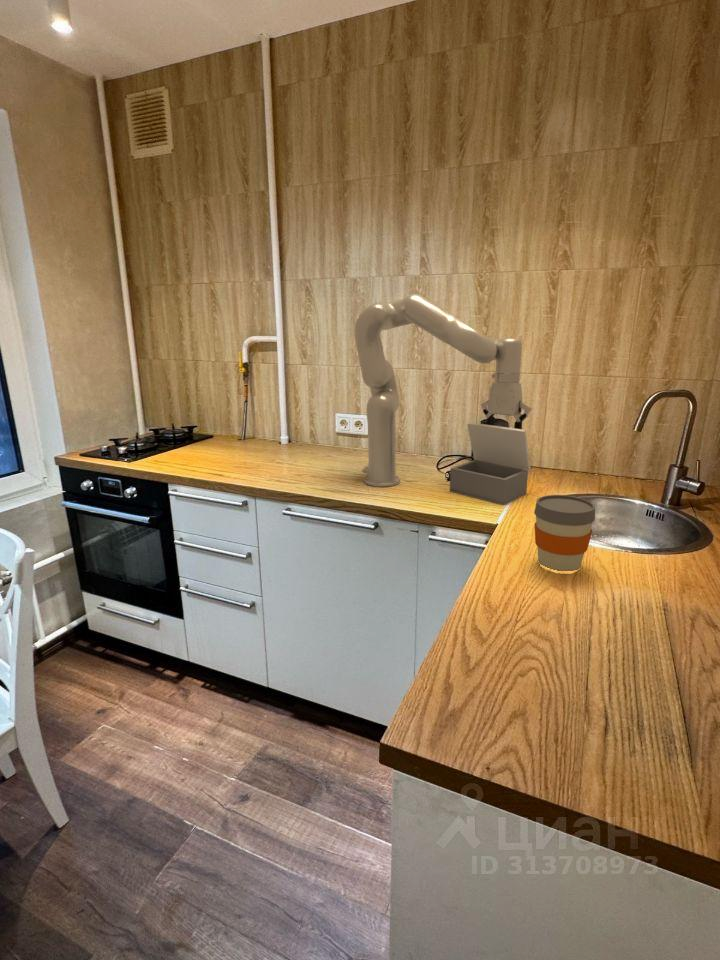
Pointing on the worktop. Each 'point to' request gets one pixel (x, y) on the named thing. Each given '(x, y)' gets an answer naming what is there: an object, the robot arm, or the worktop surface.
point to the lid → (499, 444)
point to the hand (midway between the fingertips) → (503, 431)
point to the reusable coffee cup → (563, 530)
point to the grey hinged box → (488, 481)
